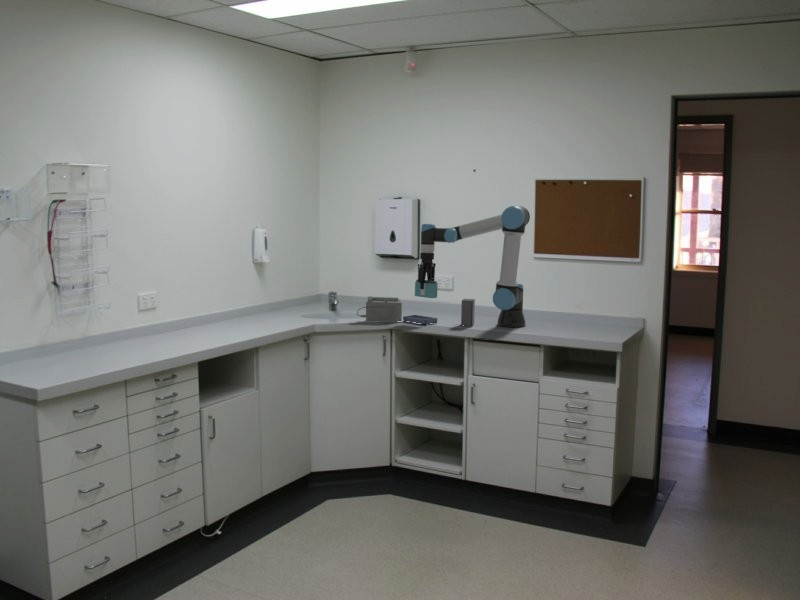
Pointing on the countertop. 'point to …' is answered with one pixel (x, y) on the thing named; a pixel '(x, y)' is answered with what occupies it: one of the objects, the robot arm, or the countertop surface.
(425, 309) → the countertop surface
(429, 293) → the teal-edged grey panel
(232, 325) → the countertop surface
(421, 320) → the tray
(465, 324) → the grey upright block
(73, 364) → the countertop surface
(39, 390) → the countertop surface
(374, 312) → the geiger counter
